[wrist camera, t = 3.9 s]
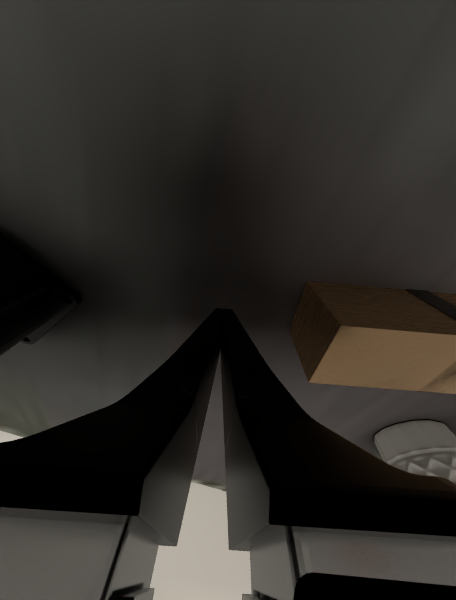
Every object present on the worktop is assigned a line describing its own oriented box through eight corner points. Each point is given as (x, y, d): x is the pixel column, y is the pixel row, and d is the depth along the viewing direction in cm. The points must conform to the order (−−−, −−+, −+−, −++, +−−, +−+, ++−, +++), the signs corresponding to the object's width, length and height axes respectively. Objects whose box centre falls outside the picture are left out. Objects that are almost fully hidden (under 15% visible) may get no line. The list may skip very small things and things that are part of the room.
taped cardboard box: (288, 331, 11) (308, 383, 8) (307, 280, 9) (341, 324, 6) (467, 345, 12) (549, 401, 9) (523, 299, 10) (656, 350, 7)
